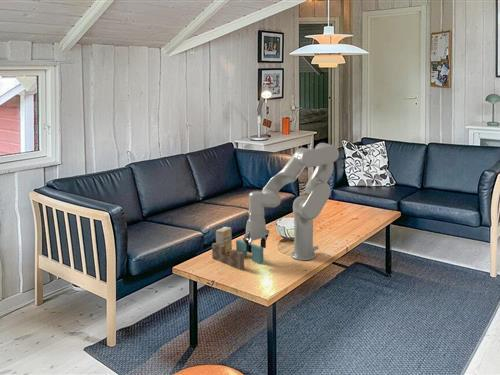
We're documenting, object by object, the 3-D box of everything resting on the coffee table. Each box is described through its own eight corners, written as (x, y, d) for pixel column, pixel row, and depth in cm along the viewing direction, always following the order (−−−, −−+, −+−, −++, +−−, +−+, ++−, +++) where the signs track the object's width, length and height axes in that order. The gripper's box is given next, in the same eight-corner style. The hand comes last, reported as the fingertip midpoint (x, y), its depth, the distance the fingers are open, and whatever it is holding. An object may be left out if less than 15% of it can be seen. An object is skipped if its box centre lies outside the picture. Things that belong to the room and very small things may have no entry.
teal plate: (236, 255, 264) (236, 240, 262) (240, 253, 266) (239, 239, 264) (259, 264, 251) (259, 248, 249) (263, 262, 252) (263, 247, 251)
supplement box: (223, 255, 264) (223, 231, 261) (216, 254, 266) (215, 230, 263) (232, 250, 271) (231, 227, 268) (225, 249, 273) (224, 226, 270)
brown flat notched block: (212, 258, 260) (211, 243, 258) (216, 257, 261) (215, 242, 260) (240, 269, 244) (239, 254, 242) (244, 268, 245) (243, 252, 244)
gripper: (263, 212, 257) (263, 244, 260) (238, 218, 246) (238, 251, 249) (274, 215, 251) (273, 247, 255) (248, 221, 240) (248, 255, 244)
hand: (256, 249), depth 252 cm, fingers open, 9 cm apart
